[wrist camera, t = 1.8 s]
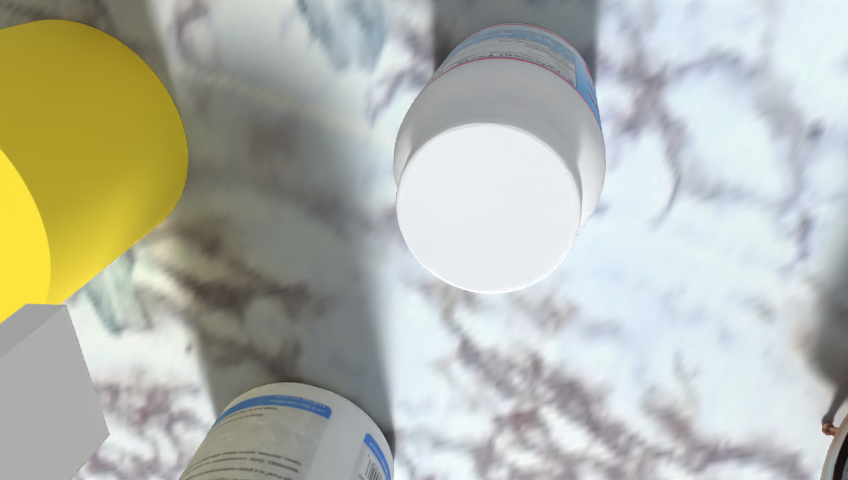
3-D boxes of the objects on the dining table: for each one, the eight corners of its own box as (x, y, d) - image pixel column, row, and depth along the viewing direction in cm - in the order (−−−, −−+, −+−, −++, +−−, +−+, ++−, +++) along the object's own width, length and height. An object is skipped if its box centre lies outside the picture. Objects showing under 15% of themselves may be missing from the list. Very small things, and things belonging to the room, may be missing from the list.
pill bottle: (563, 193, 29) (563, 350, 19) (418, 147, 29) (342, 279, 19) (620, 45, 26) (656, 138, 16) (460, -4, 26) (397, 57, 16)
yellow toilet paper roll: (158, 273, 34) (25, 396, 26) (-36, 181, 34) (-235, 275, 25) (215, 86, 29) (76, 161, 21) (-9, -24, 29) (-241, 8, 21)
